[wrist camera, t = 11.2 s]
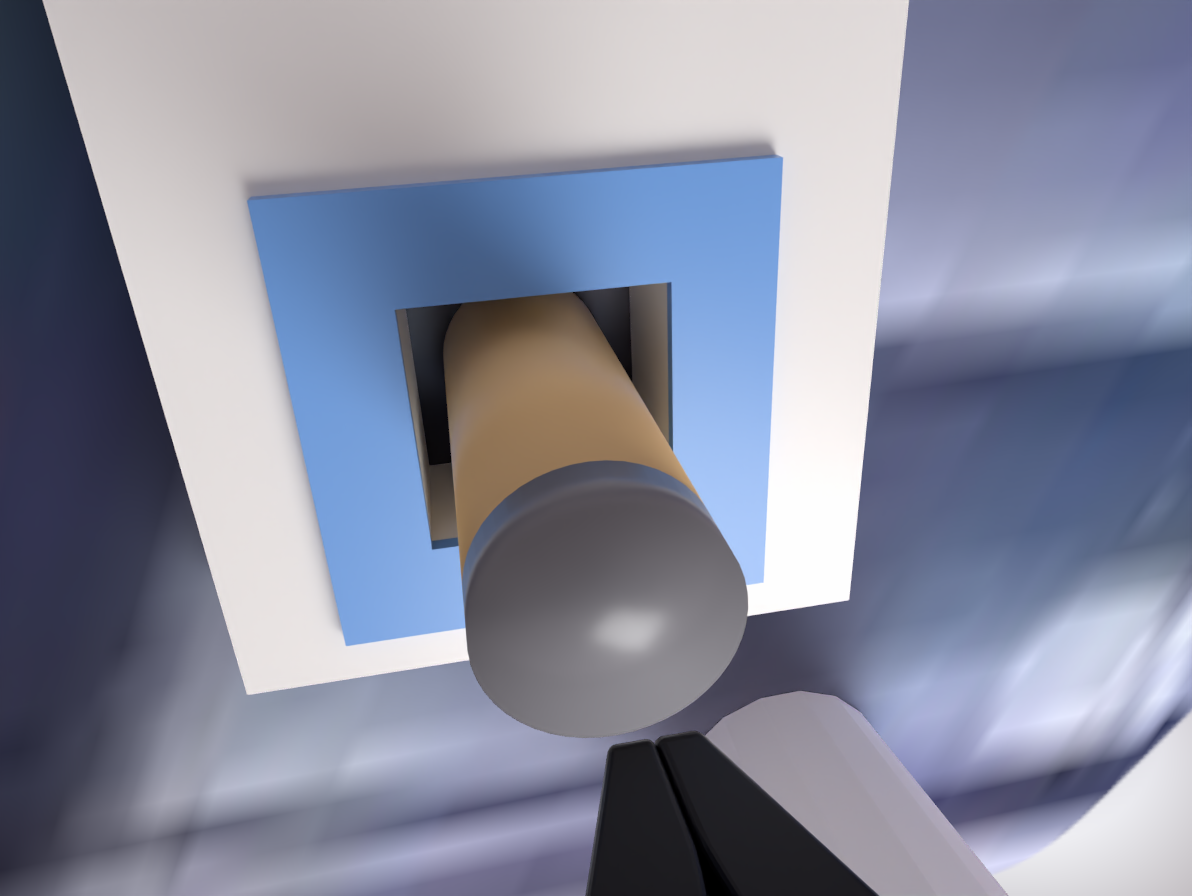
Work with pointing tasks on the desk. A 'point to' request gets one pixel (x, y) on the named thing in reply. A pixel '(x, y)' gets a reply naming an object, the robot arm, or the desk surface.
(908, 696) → the desk surface
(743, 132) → the block
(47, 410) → the desk surface
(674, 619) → the grey-capped tan cylinder
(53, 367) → the desk surface
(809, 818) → the white cylinder
